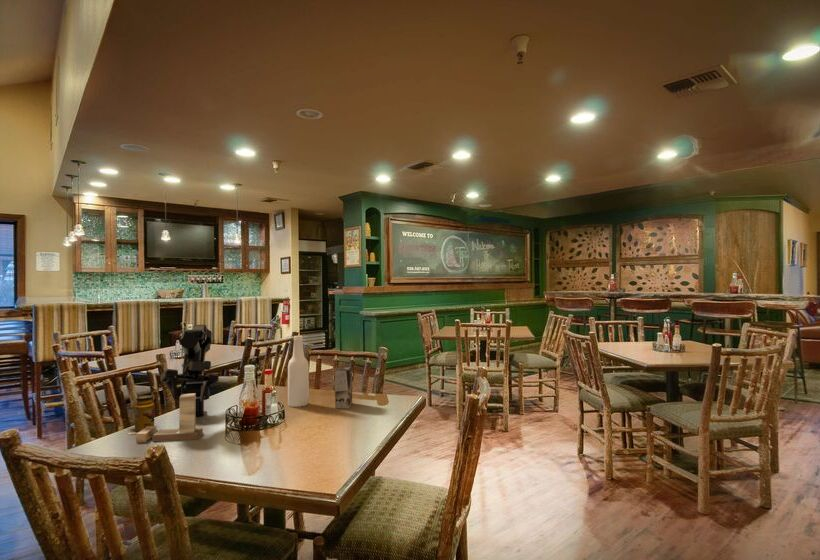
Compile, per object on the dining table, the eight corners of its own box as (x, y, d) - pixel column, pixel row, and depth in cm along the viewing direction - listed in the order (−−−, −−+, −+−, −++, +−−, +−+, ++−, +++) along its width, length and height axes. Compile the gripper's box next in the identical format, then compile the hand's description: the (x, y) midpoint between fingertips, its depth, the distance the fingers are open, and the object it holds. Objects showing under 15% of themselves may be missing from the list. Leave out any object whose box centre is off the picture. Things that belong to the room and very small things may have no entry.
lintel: (147, 435, 154) (147, 426, 154) (156, 434, 155) (156, 426, 155) (136, 443, 147) (136, 433, 147) (145, 442, 147) (145, 433, 147)
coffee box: (349, 408, 187) (349, 370, 187) (334, 408, 187) (334, 370, 187) (352, 403, 196) (352, 366, 196) (338, 403, 196) (338, 366, 196)
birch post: (181, 429, 153) (181, 394, 153) (195, 427, 155) (195, 393, 155) (179, 433, 149) (179, 397, 149) (194, 431, 151) (194, 396, 151)
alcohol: (306, 401, 199) (306, 334, 199) (310, 406, 191) (310, 336, 191) (286, 403, 195) (286, 335, 196) (289, 408, 187) (289, 337, 188)
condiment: (155, 430, 158) (156, 397, 159) (127, 435, 154) (128, 400, 154) (154, 425, 164) (154, 393, 165) (127, 429, 160) (127, 396, 160)
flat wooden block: (160, 435, 153) (160, 428, 153) (202, 433, 155) (202, 427, 155) (152, 441, 147) (152, 434, 147) (196, 439, 149) (196, 432, 149)
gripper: (173, 347, 156) (168, 390, 148) (225, 355, 168) (224, 394, 160) (162, 359, 162) (157, 401, 154) (213, 366, 174) (211, 404, 166)
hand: (188, 400), depth 159 cm, fingers open, 9 cm apart
